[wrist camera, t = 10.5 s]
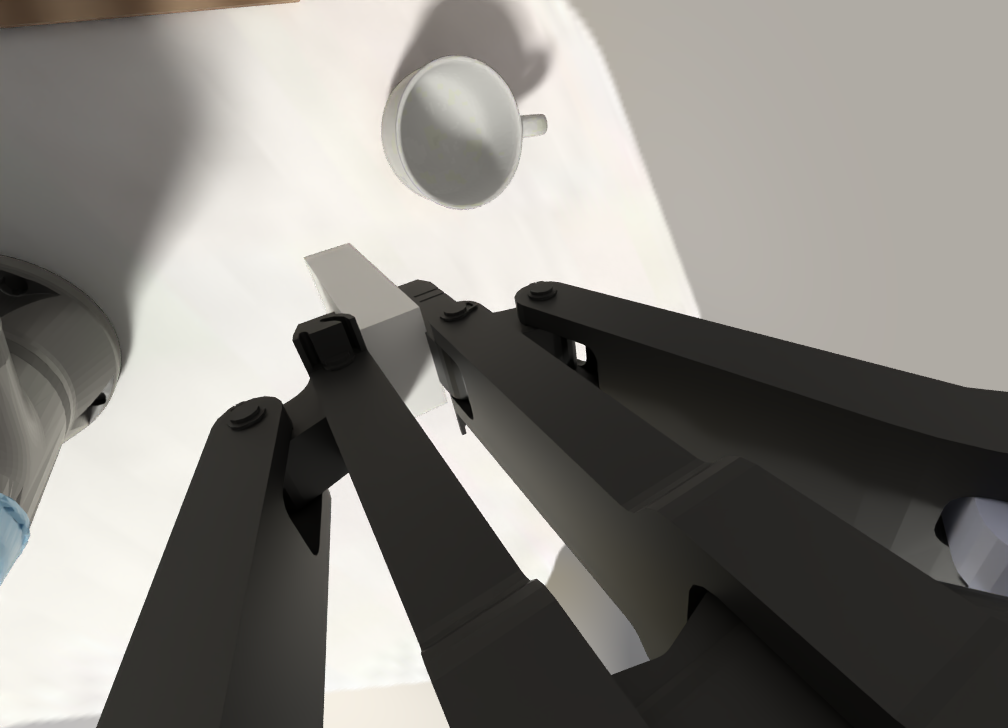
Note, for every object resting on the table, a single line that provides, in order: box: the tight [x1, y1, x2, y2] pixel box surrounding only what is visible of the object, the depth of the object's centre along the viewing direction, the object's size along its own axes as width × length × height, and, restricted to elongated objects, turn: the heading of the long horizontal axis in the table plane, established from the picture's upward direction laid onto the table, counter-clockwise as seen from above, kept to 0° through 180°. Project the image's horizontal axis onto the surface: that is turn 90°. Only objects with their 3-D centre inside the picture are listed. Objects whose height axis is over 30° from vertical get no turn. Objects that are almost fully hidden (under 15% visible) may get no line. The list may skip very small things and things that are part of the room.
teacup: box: [381, 55, 547, 210], centre depth 41 cm, size 14×11×8 cm
